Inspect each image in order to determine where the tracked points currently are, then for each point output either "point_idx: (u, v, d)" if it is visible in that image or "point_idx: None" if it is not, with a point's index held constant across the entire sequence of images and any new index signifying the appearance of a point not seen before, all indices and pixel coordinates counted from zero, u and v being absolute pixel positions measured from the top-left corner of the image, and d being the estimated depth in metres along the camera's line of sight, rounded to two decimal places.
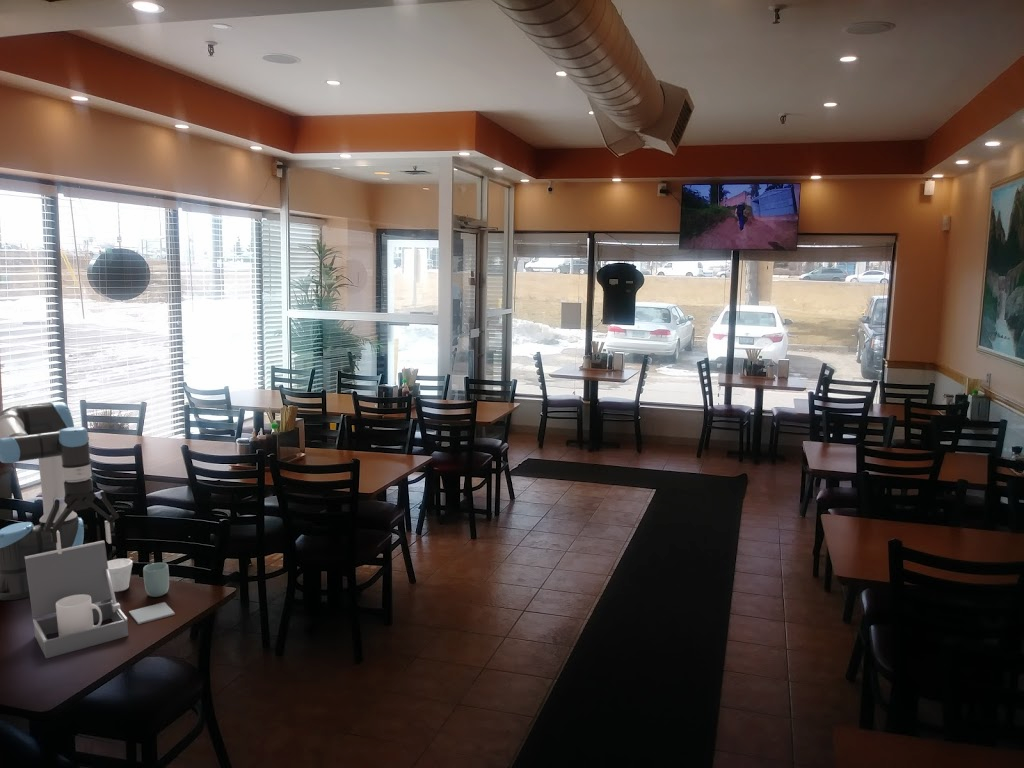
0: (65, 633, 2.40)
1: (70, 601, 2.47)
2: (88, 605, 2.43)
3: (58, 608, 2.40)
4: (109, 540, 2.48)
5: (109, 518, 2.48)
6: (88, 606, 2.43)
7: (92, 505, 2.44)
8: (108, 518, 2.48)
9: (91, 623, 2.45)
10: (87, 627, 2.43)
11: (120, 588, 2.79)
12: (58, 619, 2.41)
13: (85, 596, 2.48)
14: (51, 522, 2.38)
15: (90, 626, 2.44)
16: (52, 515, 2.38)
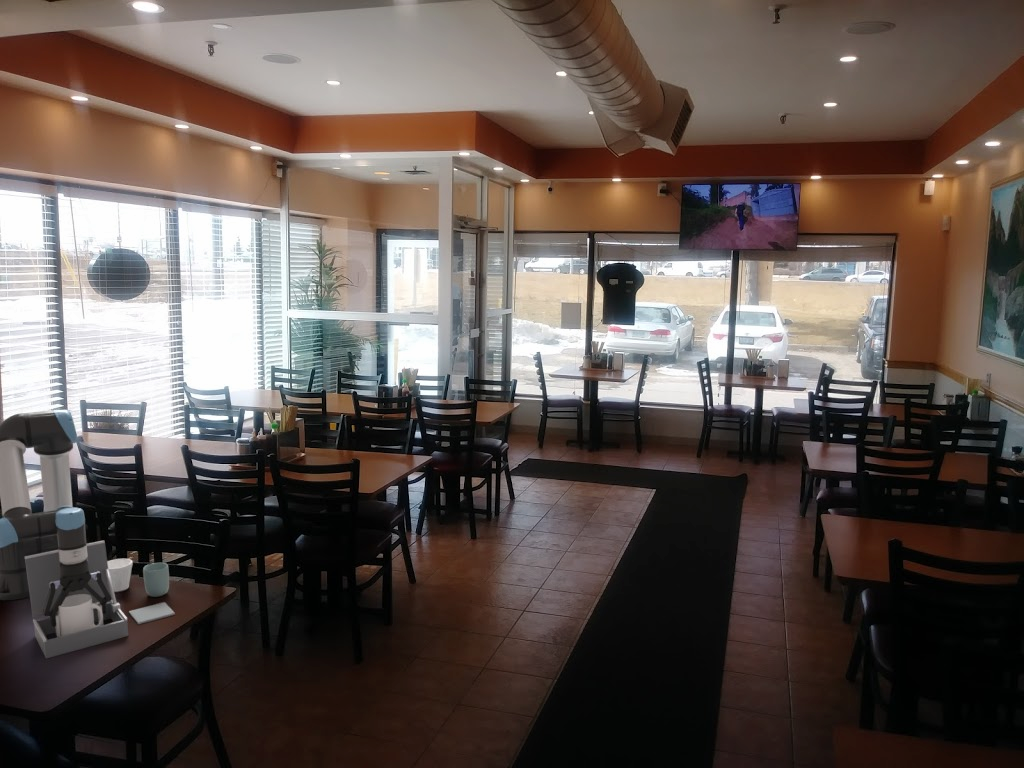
0: (66, 633, 2.40)
1: (71, 601, 2.47)
2: (89, 605, 2.44)
3: (59, 608, 2.40)
4: None
5: (102, 601, 2.47)
6: (89, 606, 2.44)
7: (87, 586, 2.44)
8: (101, 601, 2.47)
9: (92, 623, 2.45)
10: (88, 627, 2.43)
11: (120, 588, 2.79)
12: (59, 619, 2.41)
13: (86, 596, 2.48)
14: (49, 606, 2.38)
15: (91, 626, 2.45)
16: (49, 599, 2.38)
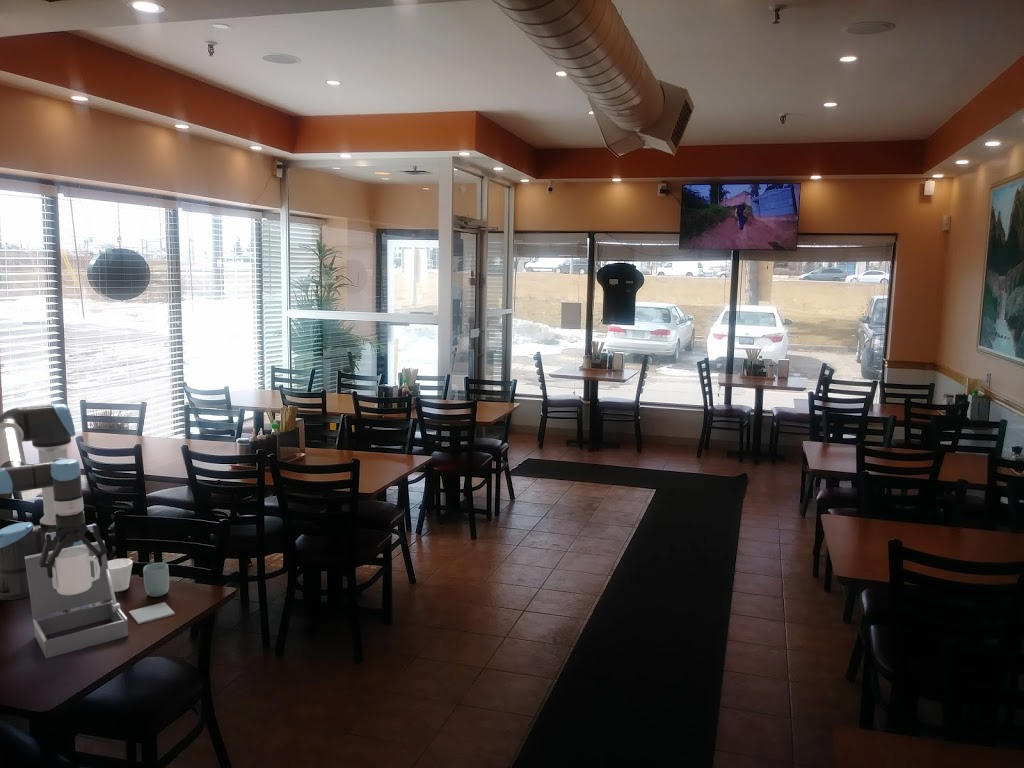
0: (63, 585, 2.39)
1: (67, 553, 2.46)
2: (86, 557, 2.42)
3: (55, 559, 2.38)
4: None
5: (98, 553, 2.45)
6: (86, 558, 2.42)
7: (83, 538, 2.42)
8: (97, 553, 2.45)
9: (89, 575, 2.43)
10: (85, 579, 2.42)
11: (120, 588, 2.79)
12: None
13: (82, 548, 2.46)
14: (45, 557, 2.37)
15: (88, 578, 2.43)
16: (45, 550, 2.36)
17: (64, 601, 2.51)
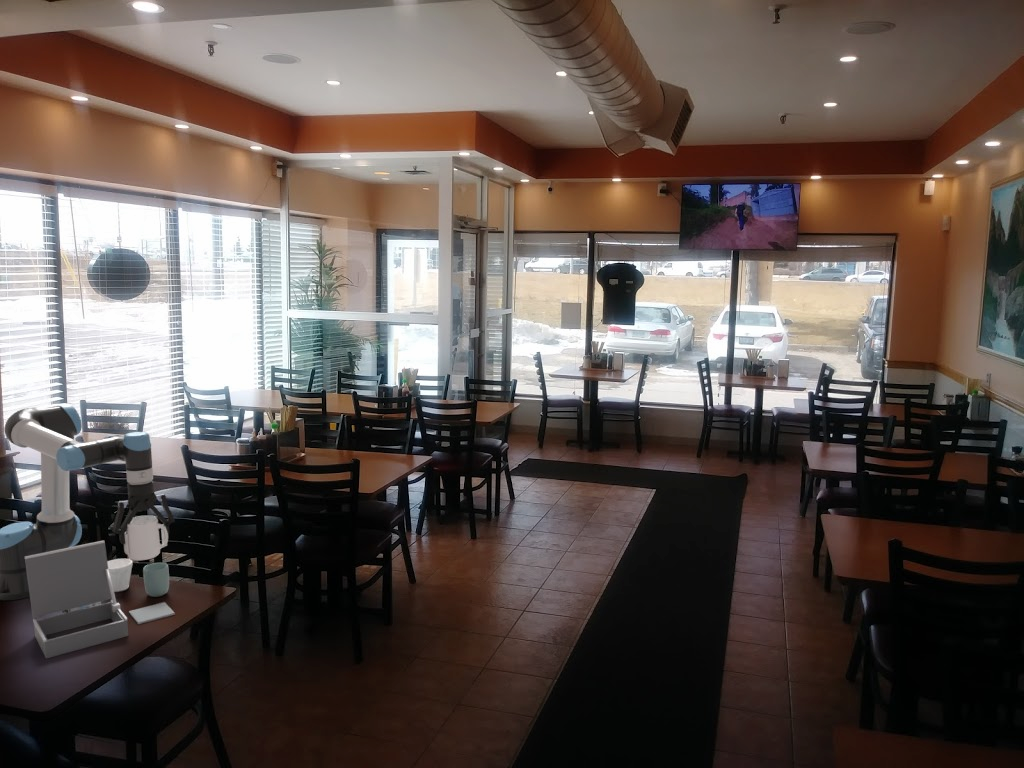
0: (135, 550, 2.53)
1: (137, 522, 2.60)
2: (155, 524, 2.56)
3: (128, 526, 2.52)
4: None
5: (165, 522, 2.60)
6: (155, 525, 2.56)
7: (152, 507, 2.56)
8: (165, 521, 2.60)
9: (158, 542, 2.58)
10: (154, 545, 2.56)
11: (120, 588, 2.79)
12: None
13: (151, 517, 2.60)
14: (119, 524, 2.51)
15: (157, 544, 2.57)
16: (119, 517, 2.51)
17: (64, 601, 2.51)
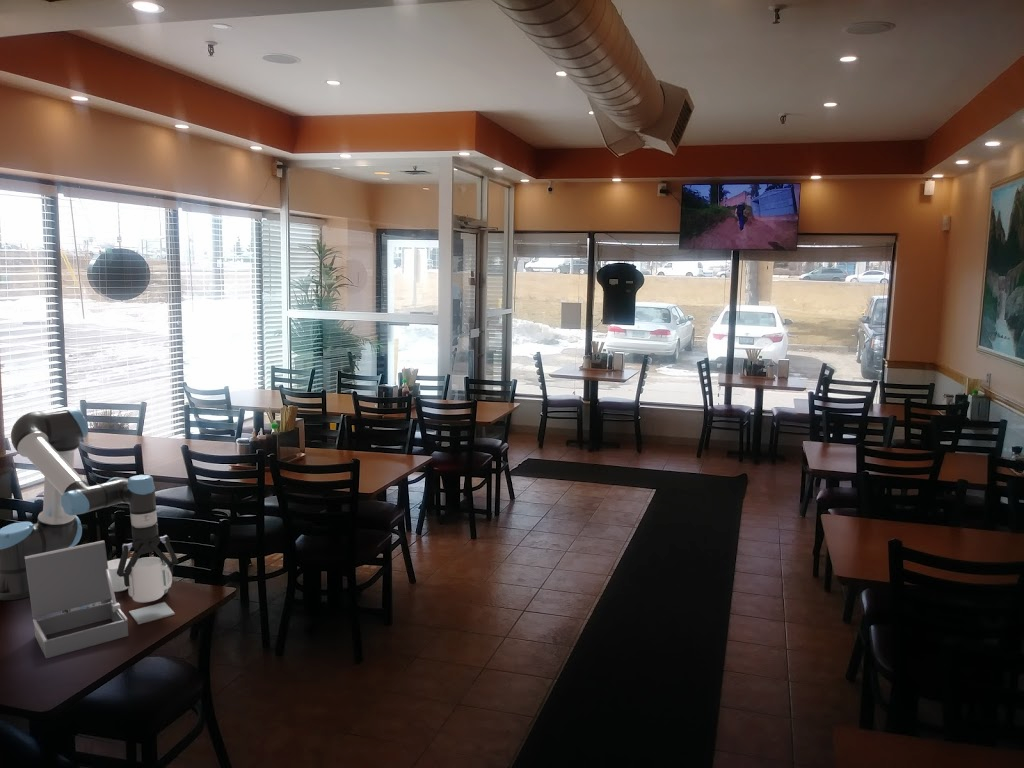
0: (139, 593, 2.55)
1: (141, 563, 2.62)
2: (159, 566, 2.58)
3: (132, 569, 2.55)
4: None
5: (169, 563, 2.62)
6: (159, 567, 2.58)
7: (156, 549, 2.58)
8: (168, 563, 2.62)
9: (162, 583, 2.60)
10: (159, 587, 2.58)
11: (120, 588, 2.79)
12: (132, 579, 2.55)
13: (155, 558, 2.63)
14: (123, 567, 2.53)
15: (161, 586, 2.59)
16: (123, 560, 2.53)
17: (64, 601, 2.51)
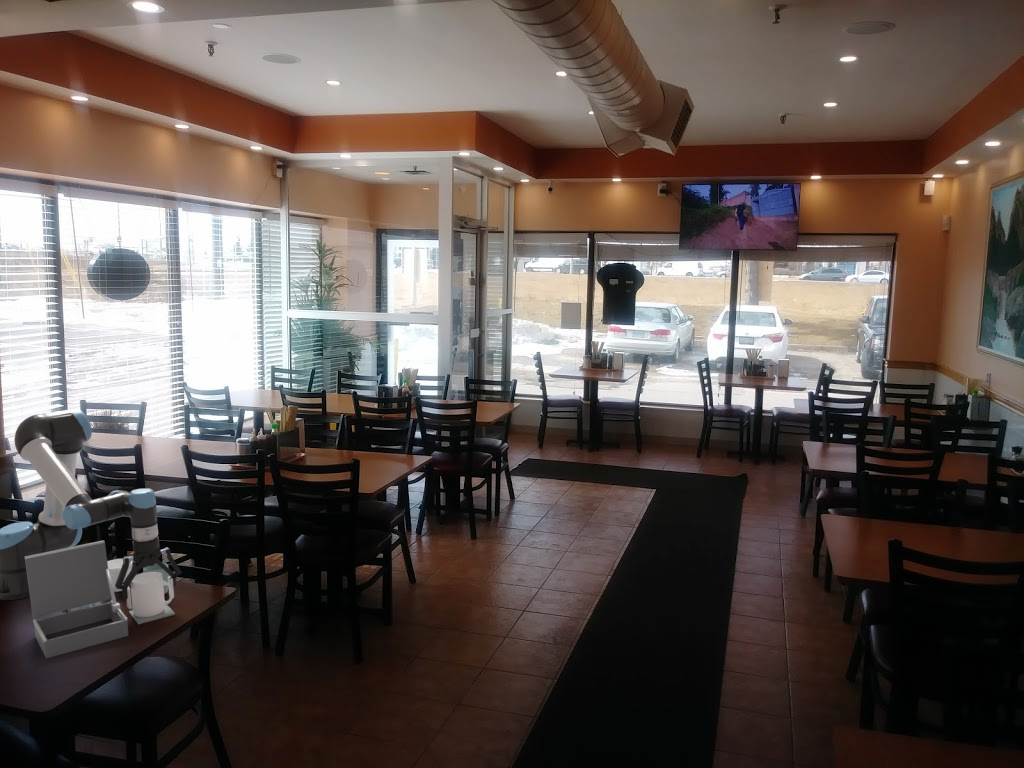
0: (140, 608, 2.56)
1: (142, 578, 2.63)
2: (160, 581, 2.59)
3: (133, 584, 2.55)
4: None
5: (172, 574, 2.63)
6: (160, 583, 2.59)
7: (158, 562, 2.59)
8: (171, 574, 2.63)
9: (163, 599, 2.61)
10: (159, 602, 2.59)
11: None
12: (133, 594, 2.56)
13: (156, 573, 2.63)
14: (122, 579, 2.53)
15: (162, 601, 2.60)
16: (123, 573, 2.53)
17: (64, 601, 2.51)
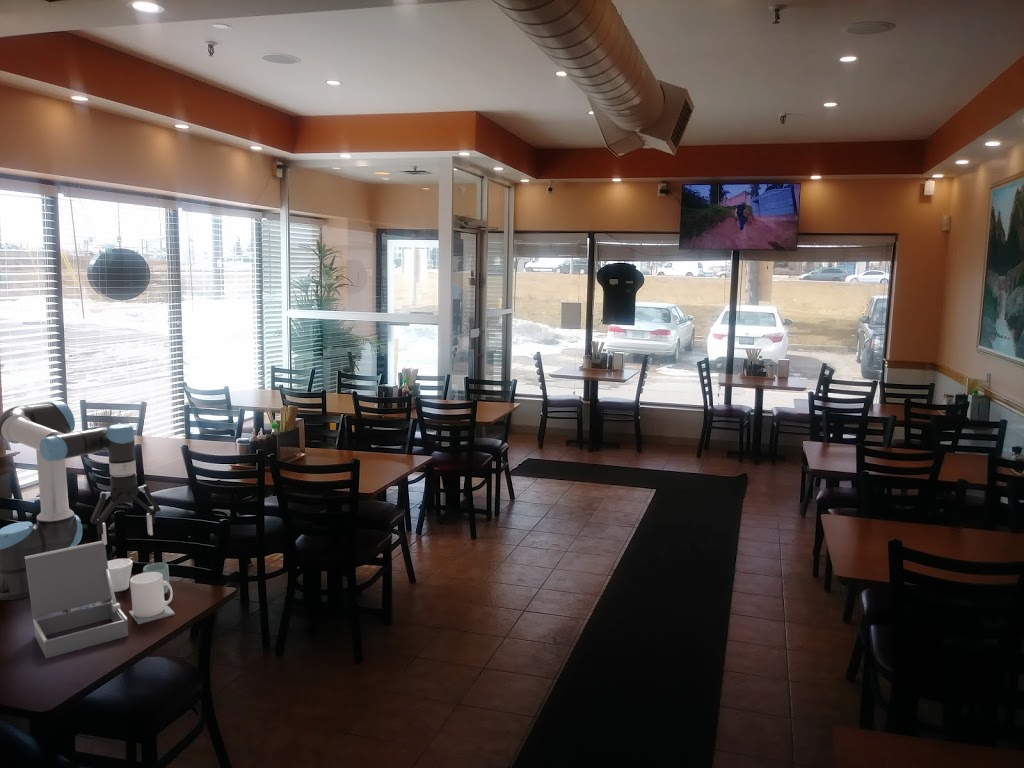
0: (140, 608, 2.56)
1: (142, 578, 2.63)
2: (160, 582, 2.59)
3: (133, 584, 2.55)
4: (151, 532, 2.61)
5: (151, 511, 2.60)
6: (160, 583, 2.59)
7: (136, 498, 2.56)
8: (150, 511, 2.60)
9: (162, 599, 2.61)
10: (159, 602, 2.59)
11: (120, 588, 2.79)
12: (133, 595, 2.56)
13: (156, 574, 2.63)
14: (98, 514, 2.50)
15: (162, 601, 2.60)
16: (99, 508, 2.50)
17: (64, 601, 2.51)
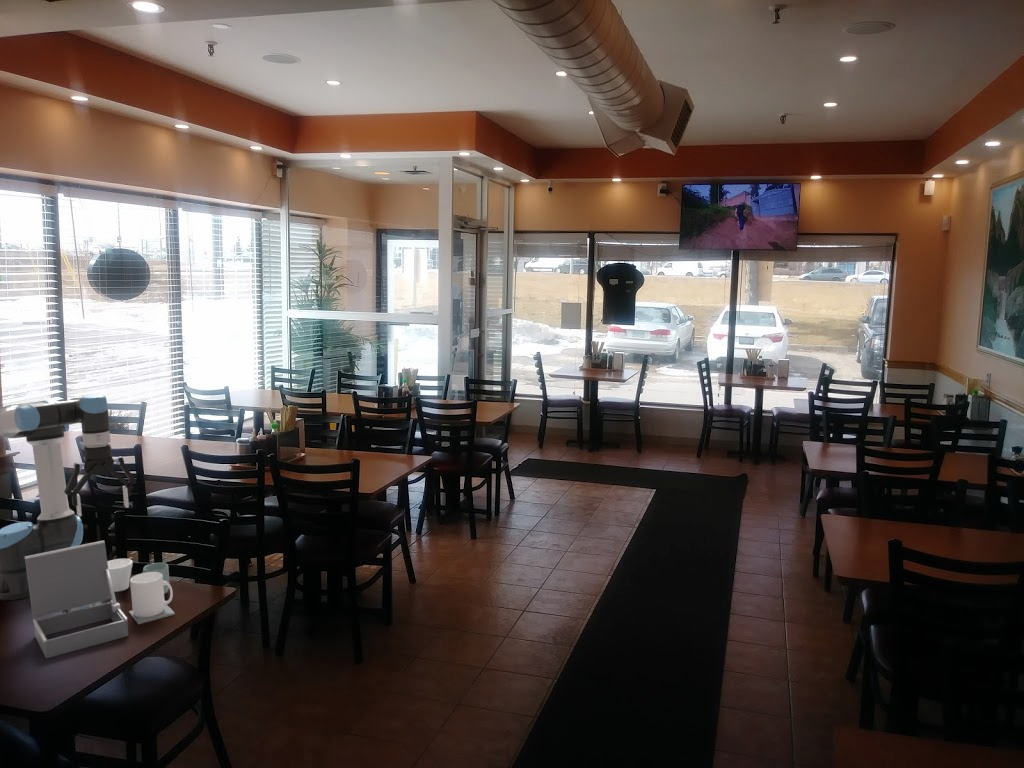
0: (140, 608, 2.56)
1: (142, 578, 2.63)
2: (160, 582, 2.59)
3: (133, 584, 2.55)
4: (127, 504, 2.58)
5: (127, 483, 2.58)
6: (160, 583, 2.59)
7: (111, 470, 2.54)
8: (126, 483, 2.58)
9: (162, 599, 2.61)
10: (159, 602, 2.59)
11: (120, 588, 2.79)
12: (133, 595, 2.56)
13: (156, 574, 2.63)
14: (72, 485, 2.48)
15: (162, 601, 2.60)
16: (73, 479, 2.48)
17: (64, 601, 2.51)
